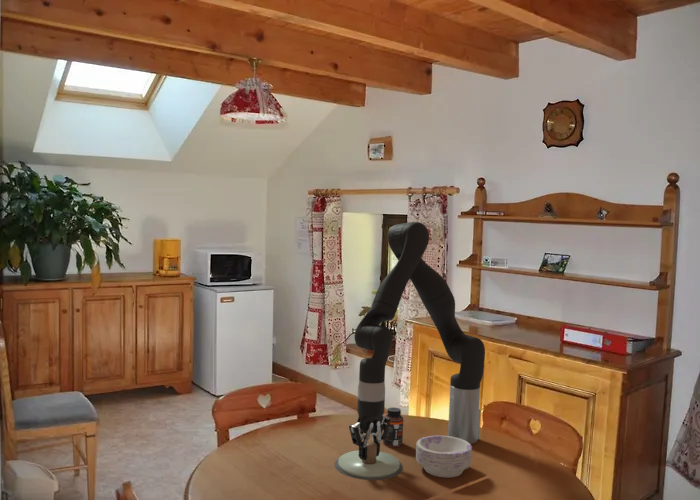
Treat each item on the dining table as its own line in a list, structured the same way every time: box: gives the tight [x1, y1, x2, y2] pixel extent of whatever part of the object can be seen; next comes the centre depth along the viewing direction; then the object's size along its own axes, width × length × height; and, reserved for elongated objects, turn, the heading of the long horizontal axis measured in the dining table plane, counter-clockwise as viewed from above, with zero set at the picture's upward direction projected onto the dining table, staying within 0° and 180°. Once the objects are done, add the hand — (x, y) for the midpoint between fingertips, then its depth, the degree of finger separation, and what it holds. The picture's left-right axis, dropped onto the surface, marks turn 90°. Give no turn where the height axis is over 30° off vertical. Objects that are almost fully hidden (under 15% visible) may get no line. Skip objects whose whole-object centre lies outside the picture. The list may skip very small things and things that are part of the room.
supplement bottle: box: [382, 407, 404, 448], centre depth 189 cm, size 6×6×11 cm
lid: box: [338, 440, 401, 478], centre depth 172 cm, size 17×17×6 cm
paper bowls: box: [415, 435, 473, 478], centre depth 171 cm, size 15×15×8 cm
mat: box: [334, 457, 404, 481], centre depth 172 cm, size 19×19×1 cm
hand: (369, 457), depth 172 cm, fingers closed on lid, 4 cm apart
